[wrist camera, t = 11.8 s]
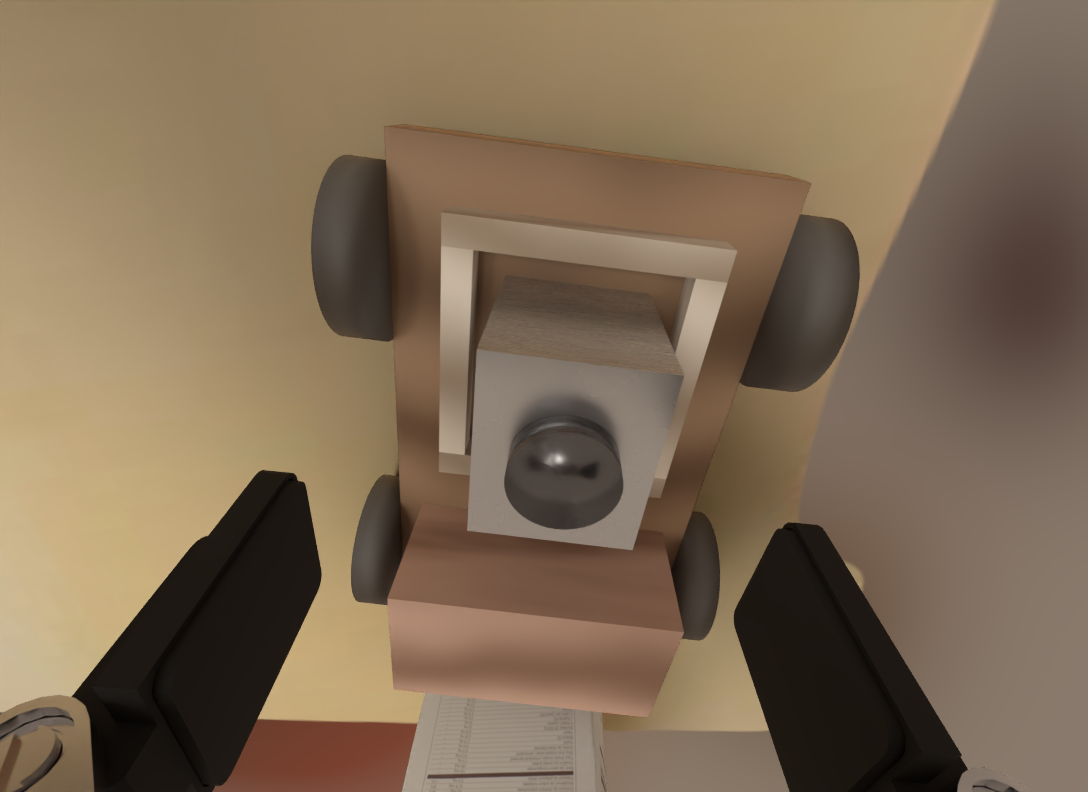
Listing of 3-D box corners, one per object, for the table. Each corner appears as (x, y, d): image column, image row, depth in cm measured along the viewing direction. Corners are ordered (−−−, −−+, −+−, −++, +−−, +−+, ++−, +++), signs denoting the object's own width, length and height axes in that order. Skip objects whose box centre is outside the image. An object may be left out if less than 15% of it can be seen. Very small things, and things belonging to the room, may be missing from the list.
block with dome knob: (505, 275, 17) (469, 368, 11) (649, 293, 17) (693, 396, 11) (493, 420, 20) (460, 557, 14) (616, 435, 20) (636, 577, 14)
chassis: (374, 117, 18) (236, 125, 10) (811, 175, 18) (975, 223, 11) (396, 546, 29) (337, 695, 22) (666, 577, 29) (698, 735, 22)
